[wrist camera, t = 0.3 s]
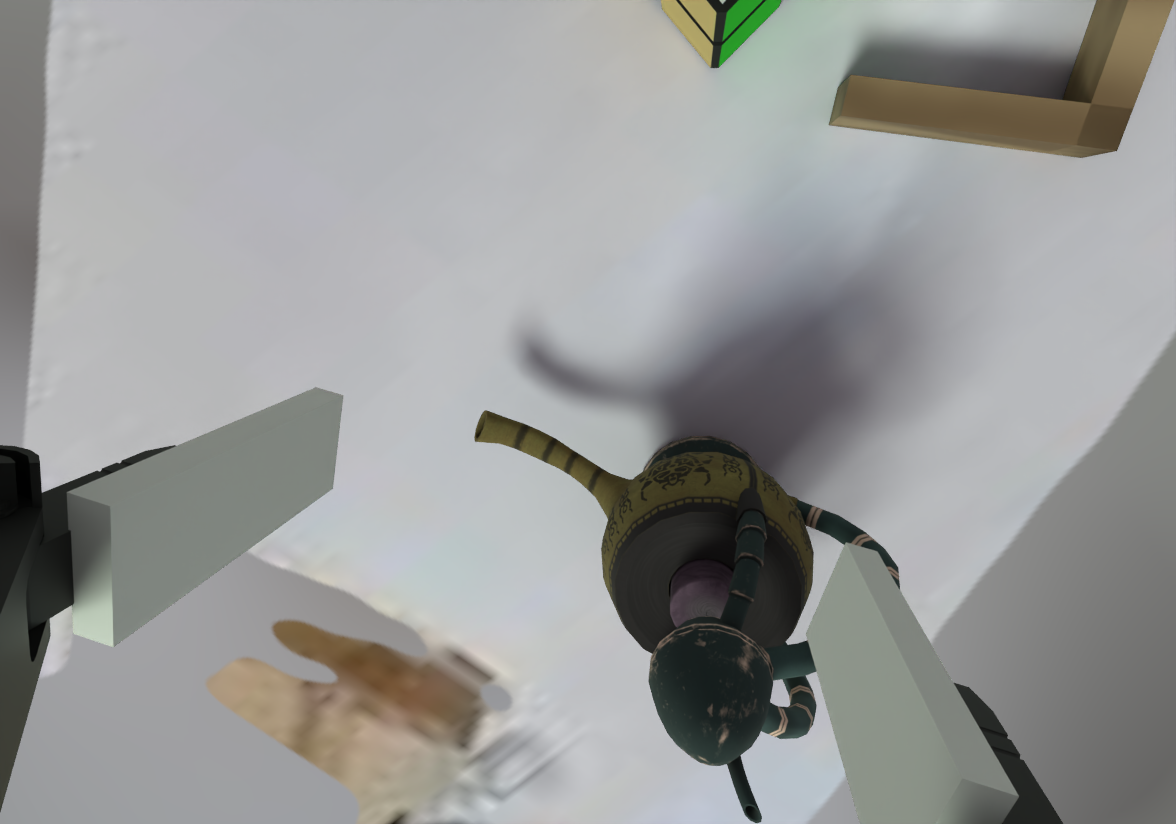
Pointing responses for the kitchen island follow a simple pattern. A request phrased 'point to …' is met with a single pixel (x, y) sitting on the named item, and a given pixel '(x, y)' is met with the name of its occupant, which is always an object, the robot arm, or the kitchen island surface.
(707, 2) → the puzzle cube
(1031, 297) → the kitchen island surface
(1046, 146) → the walnut dock
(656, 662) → the teapot
